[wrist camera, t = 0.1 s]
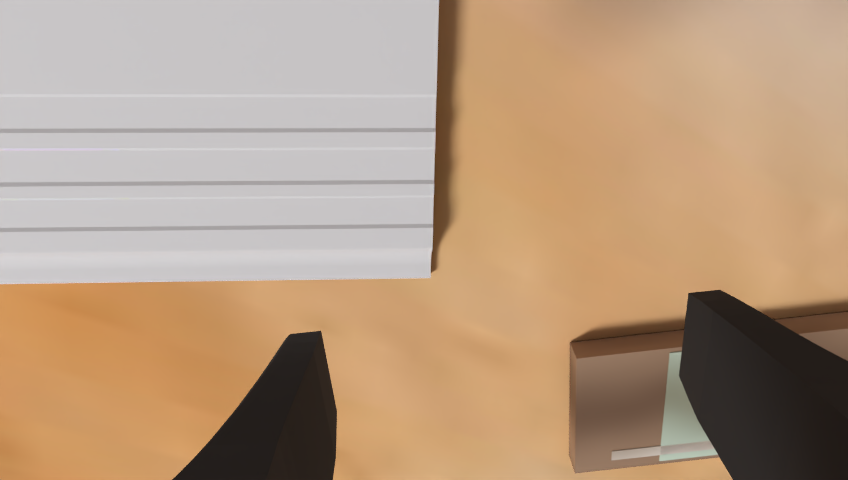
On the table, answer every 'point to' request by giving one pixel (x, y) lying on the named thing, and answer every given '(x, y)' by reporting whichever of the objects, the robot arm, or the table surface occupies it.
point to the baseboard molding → (216, 140)
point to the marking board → (651, 396)
